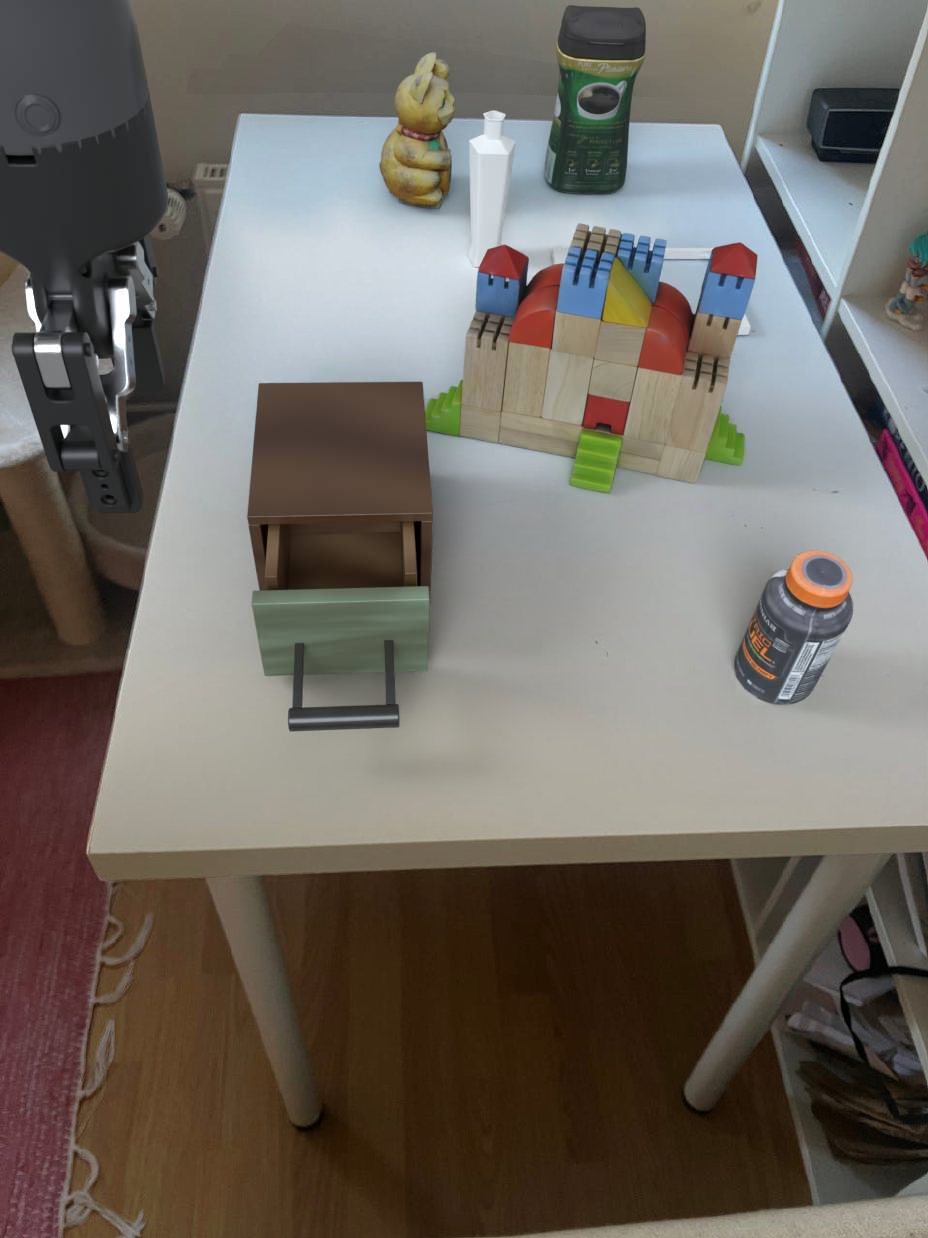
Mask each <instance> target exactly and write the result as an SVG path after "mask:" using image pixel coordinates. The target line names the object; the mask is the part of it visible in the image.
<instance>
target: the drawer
mask: <svg viewBox="0 0 928 1238" xmlns="http://www.w3.org/2000/svg"><path fill="white" fill-rule="evenodd" d="M265 581H266V587H267V590H263V591H259V590H252V595H251V608H252V614H253V619H254V625H255V631H256V636H257V637H256V638H257V642H258V647H259V652H260V653H259V654H260V658H261V664H262V669H263V675H264V677H282V676H284V677H285V676H293V680H292V702H291V703H292V705H291V707H289V708H288V710H287V724H288V725H287V727H288V730H289V731H288V732H291V733H292V732H315V731H318V732H319V731H343V730H364V729H365V730H367V729H368V730H371V729H394V728H396V729H397V728H400V725H401V724H400V721H401V720H400V705H399V703H397V701H396V675H395V673H401V672H427V671H428V666H429V665H428V663H429V662H428V661H429V637H430V634H429V633H430V631H429V630H430V604H431V597H430V598H429V587H428V586H417V565H416V548H415V532H414V521H401V522H354V523H307V524H268V538H267V553H266V568H265ZM369 673H370V674H373V673H375V674H376V673H384V674H385V675H384V676H385V677H384V680H385V704H359V705H333V706H331V705H329V706H309V707H307V706H306V707H304V706H303V704H304V702H303V701H304V676H308V675H309V676H310V675H313V676H314V675H315V676H316V675H341V674H342V675H343V674H369Z"/></svg>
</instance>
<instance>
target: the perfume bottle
mask: <svg viewBox="0 0 928 1238" xmlns="http://www.w3.org/2000/svg"><path fill="white" fill-rule="evenodd" d="M482 114H483V117H484V120H483V121H484V122H483V133H481V134H480V135H478V136H475V137H473V138H471V139H469V140H468V153H469V155H468V156H469V201H470V203H469V204H470V205H469V206H470V245H469V248H468V251H467V254H466V257H467V258H468V260H469V261H470V263H471V264H472V266H473V267H475V268H479V266H480V264H481V262H482V260H483V258H484V256H485V254H486V252H487V250H488V249H490V248H494V247H497V246H501V245H502V244H501V243H502V237H503V236H502V235H503V230H504V222H505V218H506V217H505V216H506V209H507V203H508V196H509V190H510V183H511V175H512V170H513V169H512V168H513V162H514V155H515V149H516V140H514V139H512V138H510V137H508V136H507V135H504V127H505V125H504V122H505V118H506V116H507V114H506V113H504V112H501V111H499V110H495V109H494V110H489V111H487V112H484V113H482Z"/></svg>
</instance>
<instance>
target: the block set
mask: <svg viewBox="0 0 928 1238" xmlns="http://www.w3.org/2000/svg"><path fill="white" fill-rule="evenodd" d="M635 237H636V236H635V234H634V233H629V232H623V233H622V231H621V230H619V229H613V228H609V230H608V233H607V229H606V227H602V226H597V225H593V227H592V229H591V230H590V225H589V224H586V223H582V222H581V223H579V222H578V223H577V225H576V228H575V231H574V233H573V236H572V239H571V241H570V245H569V247H568V248H569V250H568V254H567V257H566V259H565V263H560V264H555V265H553V264H552V265H549V266H547V267H544V268H543V269H540V270H539V271H538V272H536V274H534V275H533V276H532V278H531V279H530V280H529V282H528V271H529V265H530V264H529V263H530V258H529V256H528V255H526V254H524V253H523V252H521V251H519V250H517V249H515V248H513V247H511V246H509V245H508V244H501V246H497V247H494V248H490V249H488V250H487V252H486V254H485V256H484V258H483V260H482V262H481V264H480V266H479V267H478V269H477V274H476V287H475V288H476V289H475V306H474V309H475V312H474V313H473V316H472V320H471V321H470V324H469V327H468V329H467V332H466V334H465V344H464V355H463V356H464V359H463V371H462V372H463V374H462V379H460V381H459V382H458V385H457V386H453V385H450V386H449V389H448V391H447V392H444V391H440V393H439V395H438V397H437V398H434V397H432V398H430V399H429V400H428V402H427V405H426V407H425V418H426V431H431V432H436V433H441V434H446V435H449V436H455V437H458V436H461V437H466V438H470V439H476V440H481V441H485V442H491V443H497V444H498V443H499V444H503V445H507V446H511V447H516V448H517V447H518V448H522V449H527V450H532V451H537V452H543V453H549V454H552V455H553V454H554V455H558V456H562V457H567V458H574V462H573V467H572V471H571V475H570V480H569V485H570V486H572V487H576V488H581V489H585V490H590V491H596V492H600V493H606V494H610V493H611V491H612V485H613V481H614V477H615V474H616V469H617V468H620V469H625V470H630V471H634V472H640V473H645V474H650V475H655V476H657V477H660V478H665V479H671V480H674V481H681V482H686V483H691V484H696V483H697V482H698V480H699V477H700V474H701V471H702V467H703V465H704V461H705V460H707V461H713V462H717V463H723V464H728V465H733V466H739V467H740V466H741V465H742V463H743V461H744V455H745V439H746V436H745V434H744V433H740V432H737V431H738V425H737V424H736V423H730V415H729V414H725V413H722V409H723V408H722V402H723V399H724V396H725V393H726V389H727V386H728V381H729V378H728V377H729V371H730V366H731V357H732V355H733V351H734V347H735V344H736V342H737V338H738V336H739V335H738V332H739V328H740V325H741V321H742V319H743V317H744V314H745V315H746V312H747V308H748V305H749V302H750V299H751V296H752V292H753V289H754V286H755V283H756V277H757V268H758V267H757V266H758V254H757V253H756V252H755V251H754V250H752V249H751V248H749V247H748V246H747V245H745V244H744V243H742V242H740V241H738V242H733V243H728V244H724V245H718V246H714V247H713V248H714V249H712V252H711V256H710V259H708V263H707V266H706V270H705V274H704V276H703V280H702V285H701V289H700V293H699V298H698V302H697V306H696V308H695V312H694V313H693V310H692V307H691V304H690V303H689V300H688V299H687V298H686V296H685V295H684V294H683V293H682V292H681V290H679V289H678V288H676V287H675V286H673V285H671V284H669V283H668V282H667V283H666V282H664V281H660V279H661V274H662V270H663V265H664V260H665V259H664V254H665V248H667V241H668V240H667V239H664V238H655V240H654V243H653V245H652V246H653V247H652V248H653V250H652V251H650V250H649V248H651V240H652V239H651V238H652V237H651V236H648V235H640V236H639V238H638V241H637V244H636V246H635Z"/></svg>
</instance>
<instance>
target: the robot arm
mask: <svg viewBox="0 0 928 1238" xmlns="http://www.w3.org/2000/svg"><path fill="white" fill-rule="evenodd" d="M139 34H140V33H139V30H138V25H137V20H136V15H135V11H134V6H133V3H132V0H0V253H1V254H3V255H5V256H7V257H9V258H11V259H13V260H14V261H16V262H18V263H19V264H20V265H22V266H23V267H24V268H26V269H27V270H28V271H29V273H30V275H27V276H26V277H25V283H24V289H25V299H26V308H27V314H28V316H29V317H30V319H31V320H32V321H33V322H34V324H35V331H33V332H32V331H28V332H27V331H26V332H25V331H23V332H21V331H19V332H17V331H16V332H14V334H13V336H12V341H11V353H12V356H13V358H14V361H15V364H16V368H17V370H18V373H19V377H20V380H21V383H22V387H23V390H24V393H25V395H26V398H27V402H28V404H29V408H30V411H31V414H32V418H33V420H34V423H35V426H36V429H37V433H38V435H39V439H40V441H41V445H42V448H43V451H44V454H45V458H46V461H47V464H48V466H49V469H50V470H51V472H67V471H78V472H79V475H80V479H81V481H82V484H83V487H84V490H85V492H86V497H87V500H88V502H89V505H90V508H91V509H92V510H93V511H94V512H97V513H99V514H135V513H138V512H140V511H141V510H142V508H143V502H144V496H145V494H144V490H143V486H142V482H141V480H140V475H139V471H138V467H137V465H136V461H135V460H136V459H135V457H134V453H133V449H132V446H131V436H130V432H129V431H128V419H127V407H126V397H127V396H128V395H129V394H130V393H156V392H160V391H162V390H163V388H164V387H165V380H166V374H165V369H164V365H163V364H164V363H163V359H162V355H161V350H160V347H159V341H158V338H157V333H156V328H155V323H154V319H155V318H156V312H158V311H157V310H158V304H157V301H156V299H155V297H154V286H157V284H158V278H159V276H160V275H159V273H160V272H159V267H158V266H157V265H156V264H157V263H156V260H155V259H156V258H155V256H154V251H153V247H152V246H153V245H152V242H151V238H150V233H151V232H153V231H154V229H156V227H157V226H158V225H159V224H160V222H161V221H162V219H163V218H164V216H165V214H166V211H167V208H168V204H169V203H168V202H169V191H168V187H167V180H166V176H165V171H164V164H163V159H162V154H161V149H160V144H159V138H158V133H157V128H156V122H155V117H154V110H153V106H152V101H151V94H150V89H149V83H148V78H147V72H146V66H145V62H144V57H143V52H142V51H143V50H142V46H141V41H140V35H139ZM106 359H110V360H111V364H112V367H113V368H112V370H111V371H109V372H107V373H104V374H100V372H99V369H98V366H99V364H100V363H99V362H100V361H99V360H106Z"/></svg>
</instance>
